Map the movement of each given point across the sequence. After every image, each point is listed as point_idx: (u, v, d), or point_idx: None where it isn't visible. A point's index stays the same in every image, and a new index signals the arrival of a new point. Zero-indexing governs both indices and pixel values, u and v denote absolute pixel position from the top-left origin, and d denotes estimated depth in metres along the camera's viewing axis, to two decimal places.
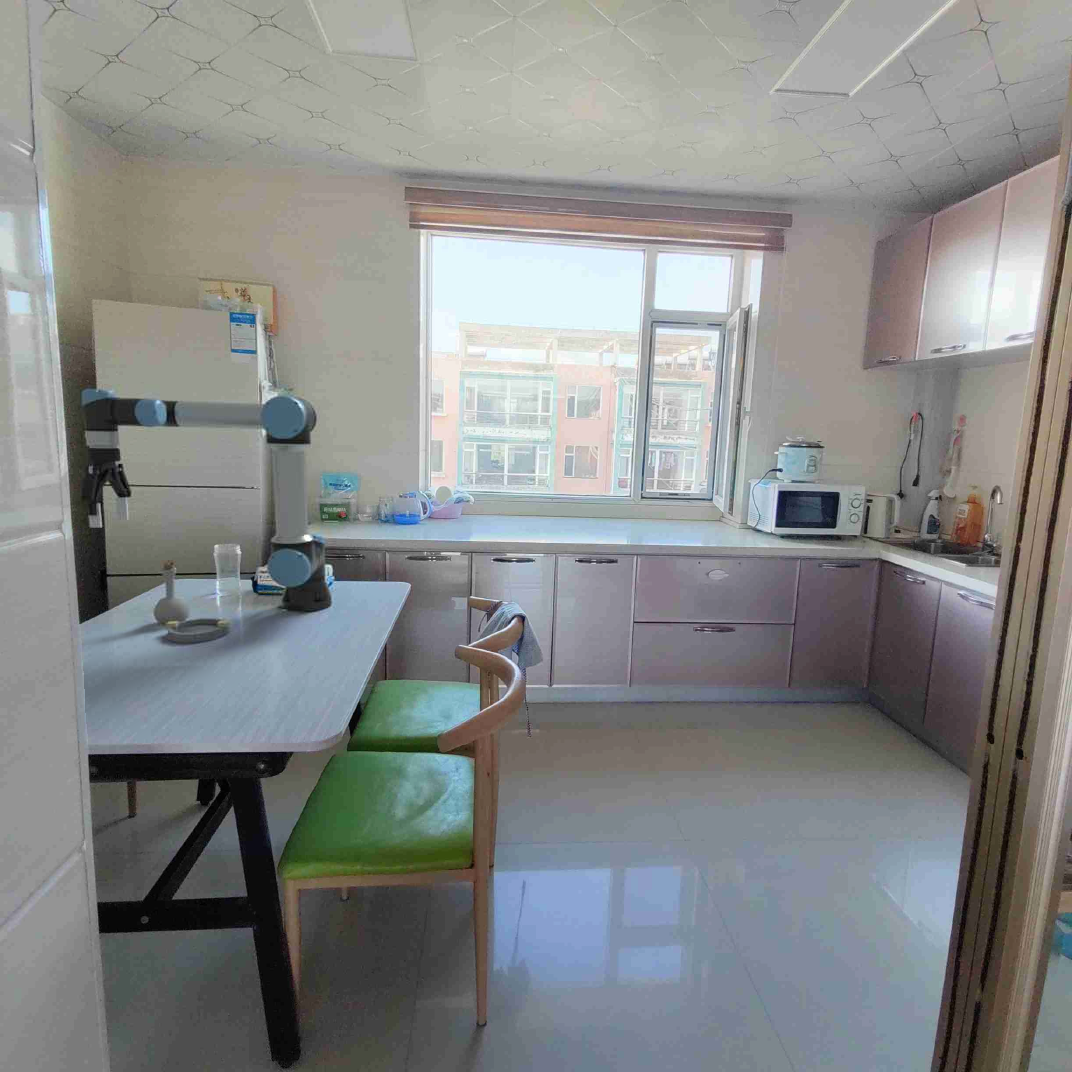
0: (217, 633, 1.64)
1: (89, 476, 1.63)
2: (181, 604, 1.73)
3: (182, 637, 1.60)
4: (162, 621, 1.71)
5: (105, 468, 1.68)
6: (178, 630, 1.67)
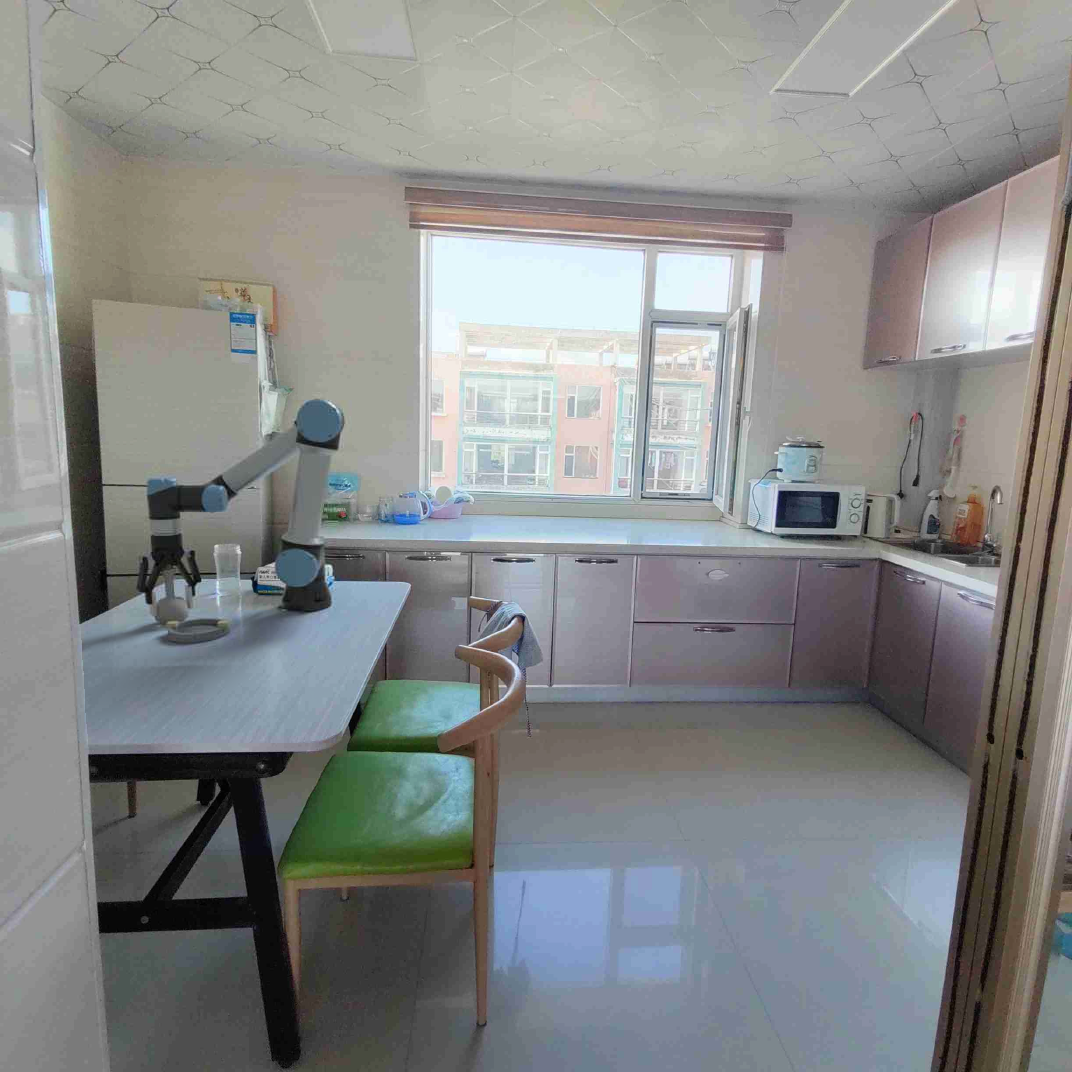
0: (217, 633, 1.64)
1: (141, 566, 1.67)
2: (181, 604, 1.73)
3: (182, 637, 1.60)
4: (162, 621, 1.71)
5: (161, 553, 1.70)
6: (178, 630, 1.67)
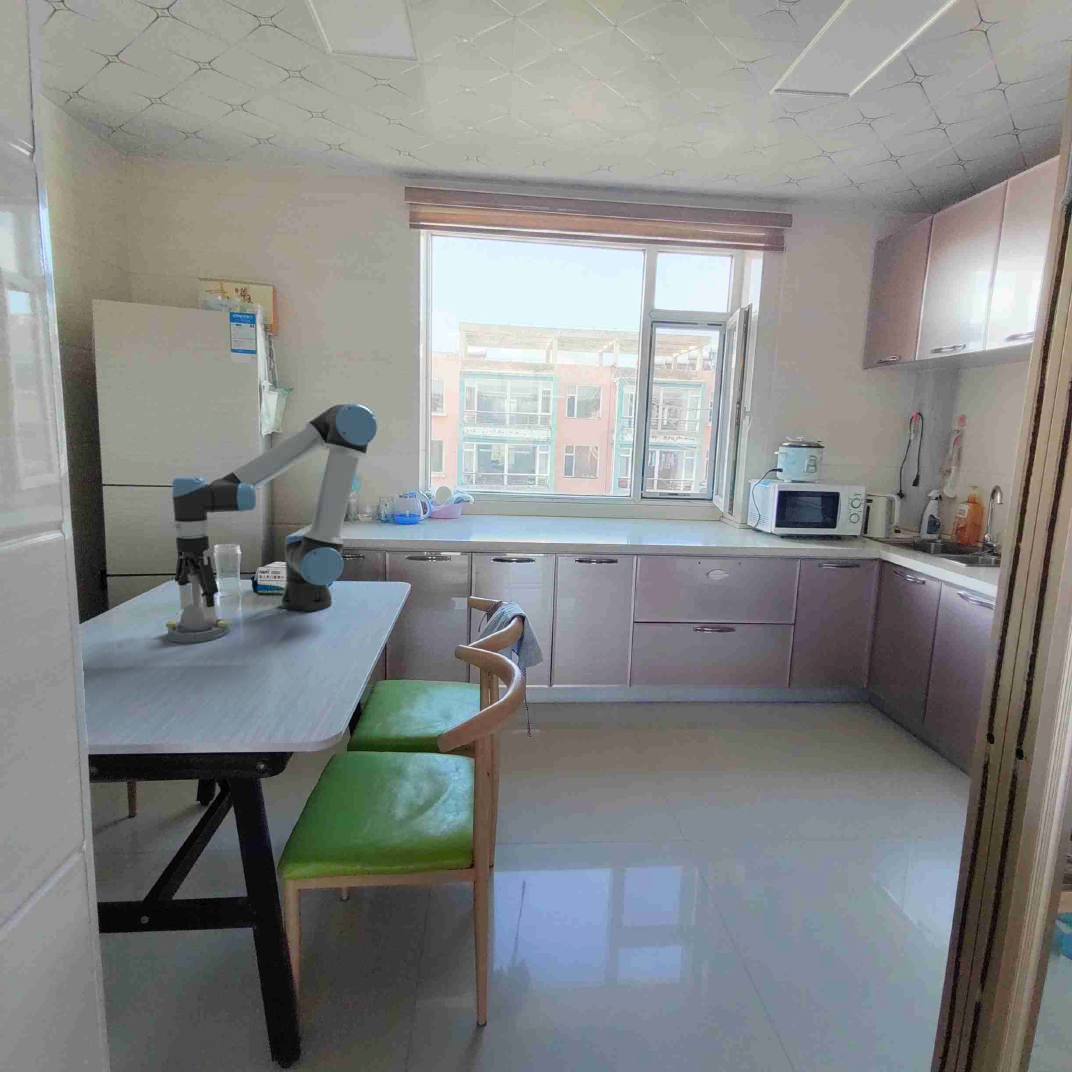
0: (217, 633, 1.64)
1: (206, 567, 1.59)
2: None
3: (182, 637, 1.60)
4: (212, 626, 1.66)
5: None
6: (178, 630, 1.67)
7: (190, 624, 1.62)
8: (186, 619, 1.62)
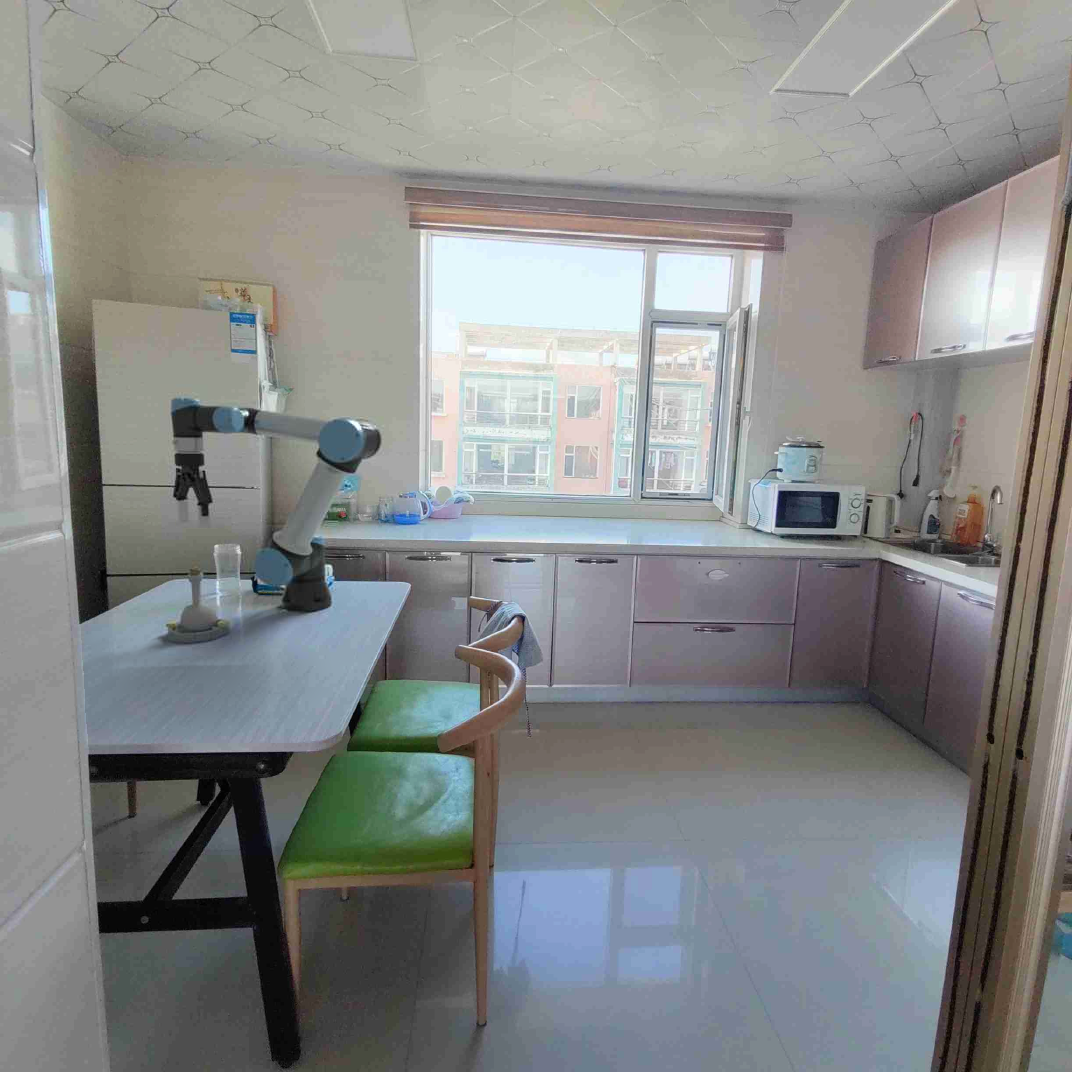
0: (217, 633, 1.64)
1: (201, 480, 1.75)
2: None
3: (182, 637, 1.60)
4: (212, 626, 1.66)
5: None
6: (178, 630, 1.67)
7: (190, 624, 1.62)
8: (186, 619, 1.62)
